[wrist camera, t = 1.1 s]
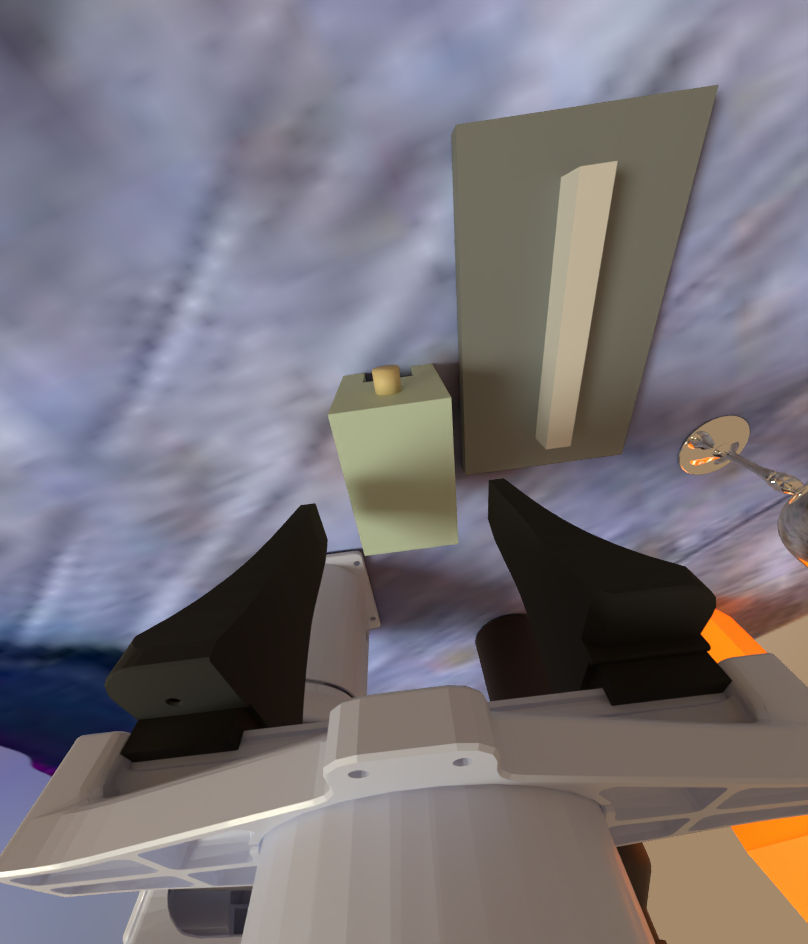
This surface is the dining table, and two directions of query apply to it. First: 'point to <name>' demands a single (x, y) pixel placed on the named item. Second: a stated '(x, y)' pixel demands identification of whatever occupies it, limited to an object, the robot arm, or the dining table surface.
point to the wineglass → (721, 440)
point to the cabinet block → (397, 458)
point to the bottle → (523, 675)
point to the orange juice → (774, 841)
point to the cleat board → (565, 269)
